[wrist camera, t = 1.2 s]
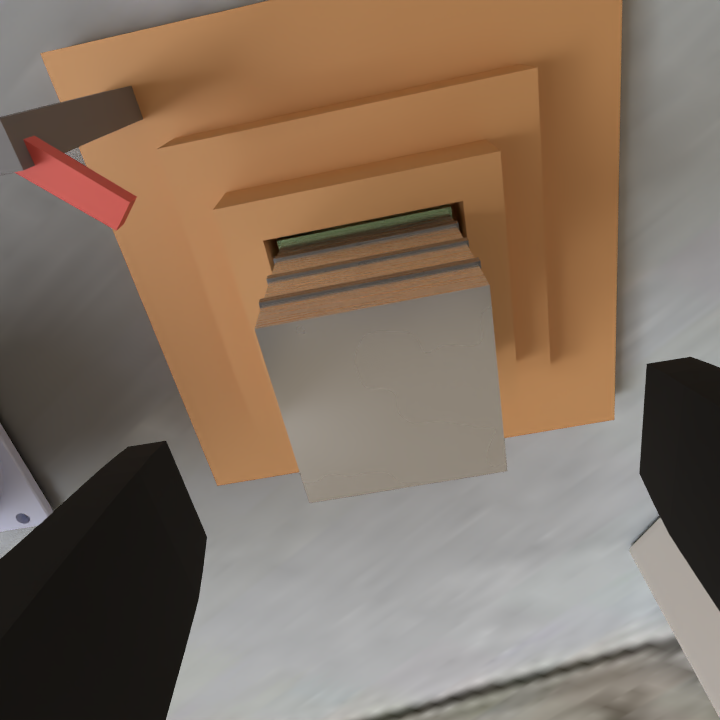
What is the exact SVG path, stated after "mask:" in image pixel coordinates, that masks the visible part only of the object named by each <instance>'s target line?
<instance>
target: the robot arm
mask: <svg viewBox="0 0 720 720" xmlns="http://www.w3.org/2000/svg"><path fill="white" fill-rule="evenodd" d="M640 475H641V478H642V480H643V482H644V484H645V486H646V488H647V490H648V492H649V495H650V497H651V499H652V501H653V503H654V505H655V507H656V509H657V511H658V513H659V515H660V517H661V519H662V521H663V523H664V525H665V527H666V529H667V531H668V533H669V535H670V536H671V538H672V540H673V541H674V543H675V544H676V546H677V547H678V549H679V551H680V552H681V554H682V555H683V557H684V558H685V560H686V561H687V563H688V564H689V566H690V567H691V569H692V570H693V572H694V574H695V575H696V577H697V578H698V580H699V581H700V583H701V584H702V586H703V587H704V589H705V590H706V592H707V593H708V595H709V596H710V598H711V599H712V601H713V602H714V604H715V605H716V607H717V608H718V610H719V611H720V368H719V367H717V366H714V365H712V364H709V363H706V362H704V361H701V360H698V359H695V358H692V357H687V358H680V359H674V360H668V361H662V362H655V363H649V364H647V369H646V384H645V399H644V414H643V429H642V444H641V459H640ZM24 514H26V515H27V516H26V515H24ZM33 526H37V527H36V528H35V529H34V530H33V531H32V532H31V533H29V534H28V535H27V536H26V537H25V538H24V539H23V540H22V541H21V542H19V543H18V544H17V545H16V546H15V547H14V548H13V549H12V550H10V551H9V552H8V553H7V554H6V555H5V556H3V557H2V558H1V559H0V720H166V717H167V713H168V710H169V706H170V702H171V699H172V695H173V692H174V688H175V684H176V681H177V677H178V674H179V670H180V666H181V663H182V659H183V656H184V652H185V648H186V645H187V641H188V637H189V633H190V630H191V626H192V622H193V619H194V615H195V611H196V607H197V603H198V599H199V593H200V586H201V580H202V573H203V565H204V557H205V549H206V541H207V536H206V534H205V531H204V529H203V526H202V524H201V522H200V519H199V517H198V515H197V512H196V510H195V508H194V505H193V503H192V501H191V498H190V496H189V494H188V491H187V489H186V487H185V484H184V482H183V479H182V477H181V475H180V472H179V470H178V468H177V465H176V463H175V461H174V458H173V456H172V454H171V451H170V449H169V447H168V444H167V442H166V441H162V442H156V443H149V444H143V445H137V446H131V447H127V448H126V449H125V450H123V451H122V452H121V453H119V454H118V455H117V456H116V457H114V458H113V459H112V460H111V461H110V462H108V463H107V464H106V465H105V466H104V467H103V468H101V469H100V470H99V471H98V472H97V473H96V474H95V475H94V476H92V477H91V478H90V479H89V480H88V481H87V482H86V483H85V484H84V485H82V486H81V487H80V488H79V489H78V490H77V491H76V492H75V493H74V494H72V495H71V496H70V497H69V498H68V499H67V500H66V501H65V502H64V503H63V504H62V505H60V506H59V507H58V508H57V509H56V510H55V511H54V512H53V511H52V508H51V506H50V505H49V503H48V501H47V500H46V498H45V496H44V495H43V493H42V491H41V490H40V488H39V486H38V485H37V483H36V481H35V480H34V478H33V476H32V475H31V473H30V471H29V470H28V468H27V467H26V465H25V463H24V462H23V460H22V458H21V457H20V455H19V453H18V452H17V450H16V448H15V447H14V445H13V443H12V442H11V440H10V438H9V437H8V435H7V433H6V432H5V430H4V428H3V427H2V425H1V424H0V532H2V531H9V530H15V529H21V528H27V527H33Z"/></svg>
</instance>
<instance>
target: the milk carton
mask: <svg viewBox="0 0 720 720" xmlns="http://www.w3.org/2000/svg"><path fill="white" fill-rule="evenodd" d="M629 551H630V553H631V555H632V557H633V559H634V561H635V563H636V565H637V566H638V568H639V570H640V572H641V574H642V576H643V578H644V579H645V581H646V583H647V585H648V587H649V589H650V590H651V592H652V594H653V596H654V598H655V600H656V601H657V603H658V605H659V607H660V609H661V611H662V613H663V614H664V616H665V618H666V620H667V622H668V624H669V625H670V627H671V629H672V631H673V633H674V635H675V637H676V638H677V640H678V642H679V644H680V646H681V648H682V649H683V651H684V653H685V655H686V657H687V659H688V661H689V662H690V664H691V666H692V668H693V670H694V672H695V673H696V675H697V677H698V679H699V681H700V683H701V684H702V686H703V688H704V690H705V692H706V694H707V696H708V697H709V699H710V701H711V703H712V705H713V707H714V708H715V710H716V712H717V714H718V716H719V718H720V611H719V610H718V608H717V607H716V605H715V604H714V602H713V601H712V599H711V598H710V596H709V595H708V593H707V592H706V590H705V589H704V587H703V586H702V584H701V583H700V581H699V580H698V578H697V577H696V575H695V574H694V572H693V570H692V569H691V567H690V566H689V564H688V563H687V561H686V560H685V558H684V557H683V555H682V554H681V552H680V551H679V549H678V547H677V546H676V544H675V543H674V541H673V540H672V538H671V536H670V535H669V533H668V531H667V529H666V527H665V525H664V523H663V521H662V519H661V517H660V518H659V519H658V520H657V521H656V522H655V523H654V524H653V525H652V526H651V527H650V528H649V529H648V530H647V531H646V532H645V533H644V534H643V535H642V536H641V537H640V538H639V539H638V540H637V541H636V542H635V543H634V544H633V545H632V546H631V547H630V549H629Z"/></svg>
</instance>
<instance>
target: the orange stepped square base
mask: <svg viewBox="0 0 720 720" xmlns="http://www.w3.org/2000/svg"><path fill="white" fill-rule="evenodd" d="M621 41H622V0H269V1H265V2H260V3H256V4H252V5H247V6H243V7H239V8H234V9H230V10H226V11H221V12H217V13H213V14H208V15H204V16H200V17H195V18H191V19H187V20H182V21H178V22H174V23H170V24H165V25H161V26H157V27H152V28H148V29H144V30H139V31H135V32H131V33H126V34H122V35H118V36H113V37H109V38H105V39H100V40H96V41H92V42H87V43H83V44H79V45H74V46H70V47H66V48H61V49H57V50H53V51H49V52H44V53H40V54H41V56H42V59H43V61H44V64H45V66H46V69H47V71H48V73H49V76H50V78H51V81H52V83H53V86H54V88H55V91H56V93H57V95H58V98H59V100H60V103H56V104H52V105H48V106H43V107H39V108H35V109H31V110H27V111H23V112H19V113H15V114H11V115H7V116H3V117H0V175H5V174H9V173H14V172H15V173H16V174H18V175H20V176H22V177H23V178H25V179H27V180H29V181H30V182H32V183H34V184H36V185H37V186H39V187H41V188H43V189H44V190H46V191H48V192H50V193H51V194H53V195H55V196H57V197H58V198H60V199H62V200H64V201H65V202H67V203H69V204H70V205H72V206H74V207H76V208H77V209H79V210H81V211H83V212H84V213H86V214H88V215H90V216H91V217H93V218H95V219H97V220H98V221H100V222H102V223H104V224H105V225H107V226H109V227H111V228H112V230H113V232H114V234H115V237H116V239H117V242H118V244H119V247H120V249H121V252H122V254H123V256H124V259H125V261H126V264H127V266H128V269H129V271H130V273H131V276H132V278H133V281H134V283H135V286H136V288H137V291H138V293H139V295H140V298H141V300H142V303H143V305H144V308H145V310H146V312H147V315H148V317H149V320H150V322H151V325H152V327H153V330H154V332H155V334H156V337H157V339H158V342H159V344H160V347H161V349H162V351H163V354H164V356H165V359H166V361H167V364H168V366H169V369H170V371H171V373H172V376H173V378H174V381H175V383H176V386H177V388H178V391H179V393H180V395H181V398H182V400H183V403H184V405H185V408H186V410H187V412H188V415H189V417H190V420H191V422H192V425H193V427H194V430H195V432H196V434H197V437H198V439H199V442H200V444H201V447H202V449H203V451H204V454H205V456H206V459H207V461H208V464H209V466H210V469H211V471H212V473H213V476H214V478H215V481H216V483H217V486H219V485H225V484H231V483H237V482H243V481H249V480H255V479H261V478H267V477H273V476H279V475H285V474H291V473H297V472H299V468H298V465H297V462H296V459H295V456H294V453H293V449H292V446H291V443H290V440H289V437H288V434H287V430H286V427H285V424H284V421H283V418H282V415H281V411H280V408H279V405H278V402H277V399H276V396H275V392H274V389H273V386H272V383H271V380H270V377H269V373H268V370H267V367H266V364H265V361H264V358H263V355H262V351H261V348H260V345H259V342H258V339H257V336H256V332H255V326H256V322H257V319H258V316H259V313H260V306H259V300H260V299H262V298H264V297H265V294H266V290H267V287H268V283H267V280H266V279H267V276H268V275H272V271H273V268H274V261H273V258H274V256H277V255H278V252H279V247H278V243H277V240H278V238H279V237H284V236H289V235H294V234H299V233H304V232H309V231H314V230H319V229H324V228H329V227H334V226H339V225H344V224H349V223H354V222H359V221H364V220H369V219H374V218H380V217H385V216H390V215H395V214H400V213H405V212H410V211H415V210H420V209H425V208H430V207H435V206H440V205H445V204H450V206H451V210H452V219H453V220H454V221H456V220H457V221H458V224H459V231H460V233H461V235H462V236H463V238H464V237H467V239H468V241H469V249H470V251H471V253H472V254H473V256H474V258H477V257H479V259H480V261H481V270H482V272H483V274H484V276H485V277H486V279H487V281H488V283H489V285H490V293H491V304H492V314H493V325H494V336H495V346H496V357H497V368H498V378H499V389H500V399H501V410H502V421H503V431H504V438H507V437H513V436H519V435H525V434H531V433H537V432H543V431H549V430H555V429H561V428H567V427H573V426H579V425H585V424H591V423H597V422H603V421H609V420H614V406H615V354H616V302H617V250H618V197H619V145H620V93H621ZM77 147H79V149H80V152H81V154H82V156H83V159H84V161H85V164H86V166H87V167H86V166H85V165H83V164H81V163H80V162H78V161H76V160H75V159H73V158H71V157H70V156H68V155H66V154H65V152H68V151H70V150H72V149H75V148H77Z"/></svg>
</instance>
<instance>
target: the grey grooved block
mask: <svg viewBox="0 0 720 720" xmlns="http://www.w3.org/2000/svg"><path fill="white" fill-rule="evenodd" d="M277 243H278V247H279V252H278V255H277V256H274V258H273V261H274V268H273V271H272V275H268V276H267V279H266V280H267V283H268V287H267V290H266V294H265V297H264V298H262V299H260V300H259V306H260V313H259V316H258V319H257V322H256V326H255V332H256V336H257V339H258V342H259V345H260V348H261V351H262V355H263V358H264V361H265V364H266V367H267V370H268V373H269V377H270V380H271V383H272V386H273V389H274V392H275V396H276V399H277V402H278V405H279V408H280V411H281V415H282V418H283V421H284V424H285V427H286V430H287V434H288V437H289V440H290V443H291V446H292V449H293V453H294V456H295V459H296V462H297V465H298V468H299V472H300V475H301V478H302V481H303V484H304V487H305V491H306V494H307V497H308V500H309V503H313V502H319V501H325V500H332V499H338V498H344V497H350V496H356V495H362V494H369V493H375V492H381V491H387V490H393V489H399V488H406V487H412V486H418V485H424V484H430V483H436V482H443V481H449V480H455V479H461V478H467V477H474V476H480V475H486V474H492V473H498V472H504V471H507V463H506V453H505V442H504V431H503V421H502V410H501V399H500V389H499V378H498V368H497V357H496V346H495V336H494V325H493V314H492V304H491V293H490V285H489V283H488V281H487V279H486V277H485V276H484V274H483V272H482V270H481V261H480V259H479V257H477V258H474V256H473V254H472V253H471V251H470V249H469V241H468V239H467V237H464V238H463V236H462V235H461V233H460V231H459V224H458V221H457V220H456V221H454V220H453V219H452V210H451V206H450V204H445V205H440V206H435V207H430V208H425V209H420V210H415V211H410V212H405V213H400V214H395V215H390V216H385V217H380V218H374V219H369V220H364V221H359V222H354V223H349V224H344V225H339V226H334V227H329V228H324V229H319V230H314V231H309V232H304V233H299V234H294V235H289V236H284V237H279V238H278V240H277Z"/></svg>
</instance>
